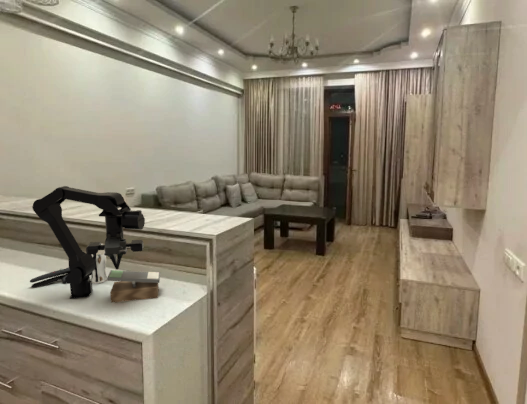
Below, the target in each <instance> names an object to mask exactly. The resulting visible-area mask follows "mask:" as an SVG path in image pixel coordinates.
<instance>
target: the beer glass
mask: <svg viewBox="0 0 527 404" xmlns="http://www.w3.org/2000/svg"><path fill="white" fill-rule="evenodd" d="M101 245H105V243H101ZM104 253H105V251H104V250H98V252H97V253H96V254H91V255H92V257H93V259H94V260H96V261H95V264H96V266H95V269H94V271H93V272H92V275H90V276H91V277H90V280H91V281H92V284H95V285H96V284H102V283H105V282H107V277H108V275H107V273H106V266H107V255H106V256H105V255H104Z"/></svg>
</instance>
